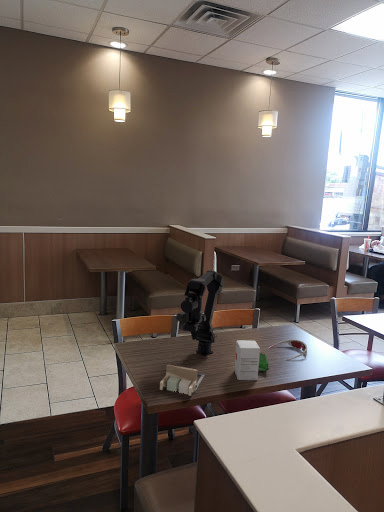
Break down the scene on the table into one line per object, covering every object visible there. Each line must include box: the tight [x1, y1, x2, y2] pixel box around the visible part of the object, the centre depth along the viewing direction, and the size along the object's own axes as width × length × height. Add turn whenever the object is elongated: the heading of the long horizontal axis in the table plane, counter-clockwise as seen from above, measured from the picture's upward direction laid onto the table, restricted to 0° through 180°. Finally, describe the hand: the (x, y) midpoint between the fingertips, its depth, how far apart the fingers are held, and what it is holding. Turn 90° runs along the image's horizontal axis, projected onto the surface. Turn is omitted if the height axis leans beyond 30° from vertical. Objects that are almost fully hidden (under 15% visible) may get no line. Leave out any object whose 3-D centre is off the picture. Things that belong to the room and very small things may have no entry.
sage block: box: [166, 377, 180, 393], centre depth 163 cm, size 4×4×4 cm
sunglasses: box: [267, 338, 308, 361], centre depth 206 cm, size 17×17×5 cm
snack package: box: [258, 352, 270, 372], centre depth 187 cm, size 7×16×5 cm, turn 175°
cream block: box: [178, 379, 191, 395], centre depth 162 cm, size 4×4×4 cm
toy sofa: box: [159, 364, 198, 397], centre depth 161 cm, size 8×14×8 cm, turn 73°
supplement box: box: [233, 339, 261, 381], centre depth 177 cm, size 9×9×15 cm
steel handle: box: [164, 372, 205, 393], centre depth 170 cm, size 16×13×1 cm
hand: (193, 339), depth 185 cm, fingers closed
